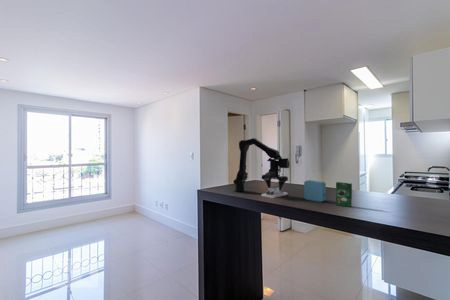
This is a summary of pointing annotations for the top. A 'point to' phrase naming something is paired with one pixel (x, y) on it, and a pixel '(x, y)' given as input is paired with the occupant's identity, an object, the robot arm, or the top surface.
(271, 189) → the drive
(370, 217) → the top surface
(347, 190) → the coffee box
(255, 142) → the robot arm
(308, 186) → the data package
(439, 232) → the top surface
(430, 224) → the top surface
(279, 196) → the pin tray
